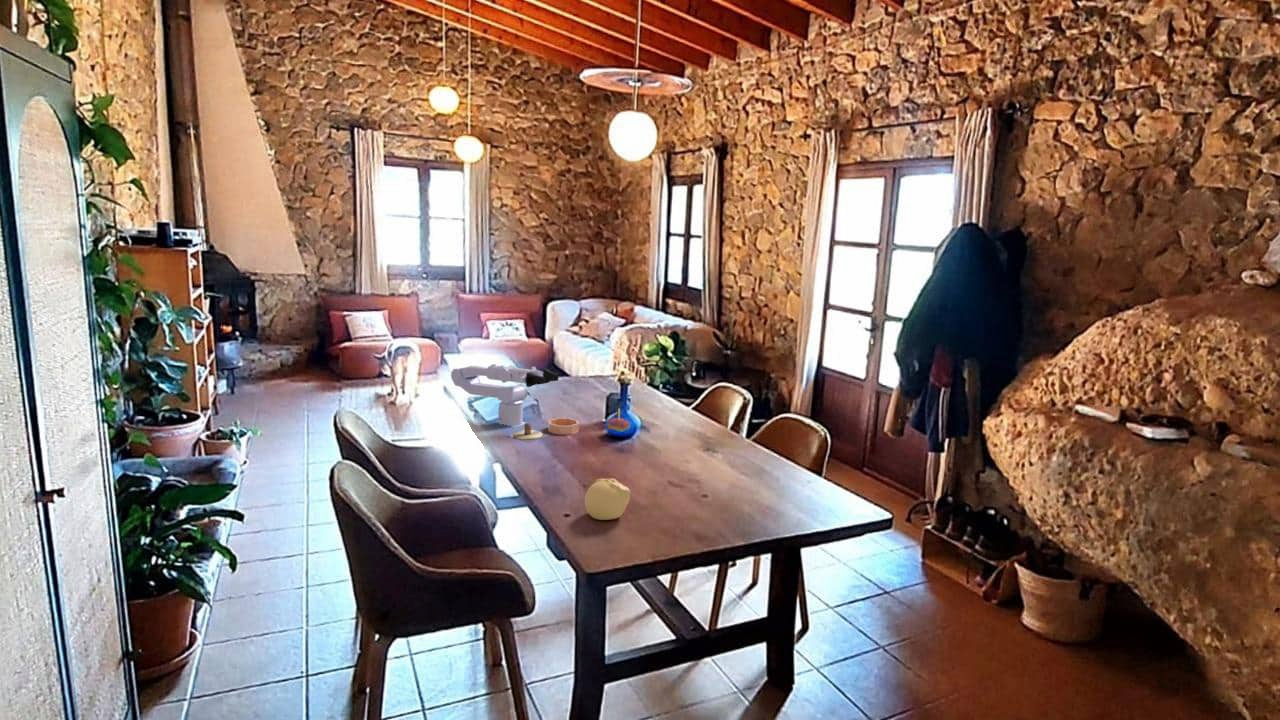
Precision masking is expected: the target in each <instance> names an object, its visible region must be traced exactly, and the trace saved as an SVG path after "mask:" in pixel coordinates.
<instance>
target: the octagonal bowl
mask: <svg viewBox="0 0 1280 720" xmlns="http://www.w3.org/2000/svg"><path fill="white" fill-rule="evenodd" d="M547 425H548V426H547V431H548V433H551V434H555V435H573V434H576V433H579V432H580V421H579V420H577V419H574V418H570V417H555V418H553V419H548V423H547Z"/></svg>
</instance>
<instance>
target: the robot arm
mask: <svg viewBox="0 0 1280 720" xmlns="http://www.w3.org/2000/svg"><path fill="white" fill-rule="evenodd" d="M450 377H451V381H452V382H453V384H454V386H455V387H459V388H461V389H462V390H464V391H465V393H466V392H467V393H468V394H469V395H475V396H481V397H489V398H497V399H498V401H501V402H500V403H499V405H498V409H497V410H498V413H497V414H498V415H497V417H498V419H497V420H498V421H497V422H496V424H498V423H499V425H502V423H504V425H503V426H505V424H506V425H508V426H507V427H509V426H511V427H510V428H513V427H515V428H518V427H521V426H525V423H527V422H526V421H523V420H524V402H525V399H527V397H528V389H527V388H530V387H533V386H536V385H544V384H549V383H550V382H558V381H559V374H557V373H555V372H552V371H551V370H550V369H549V368H543V371H541V370H538V369H537V367H536V366H532V367H530V369H528V368H521V367H516V366H515V365H509V366H505V365H504V364H503V365H497V364H496V363H492V364H491V365H489V366H487V367H485V366H477V365H469V366H466V367H465V366H464V367H460V368H454V369H452V371H451V373H450ZM480 377H486V378H487V379H488V380H492V381H501V382H502V384H505V383H508V382H512V383H516V384H517V383H518V384H517V385H507V386H506V385H498V384H490V383H482V382H481V380H480V379H481V378H480ZM525 384H526V385H525ZM517 426H518V427H517Z"/></svg>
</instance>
